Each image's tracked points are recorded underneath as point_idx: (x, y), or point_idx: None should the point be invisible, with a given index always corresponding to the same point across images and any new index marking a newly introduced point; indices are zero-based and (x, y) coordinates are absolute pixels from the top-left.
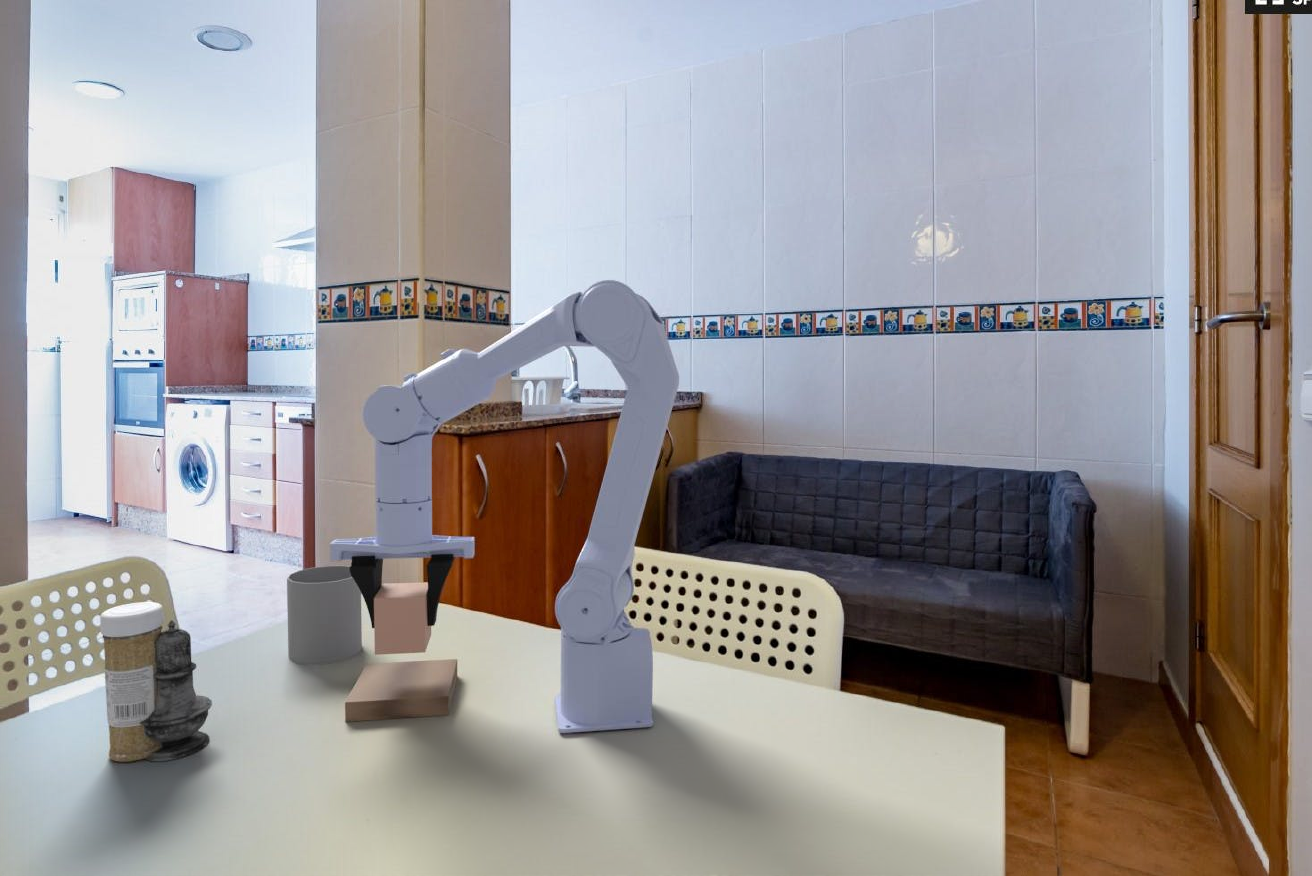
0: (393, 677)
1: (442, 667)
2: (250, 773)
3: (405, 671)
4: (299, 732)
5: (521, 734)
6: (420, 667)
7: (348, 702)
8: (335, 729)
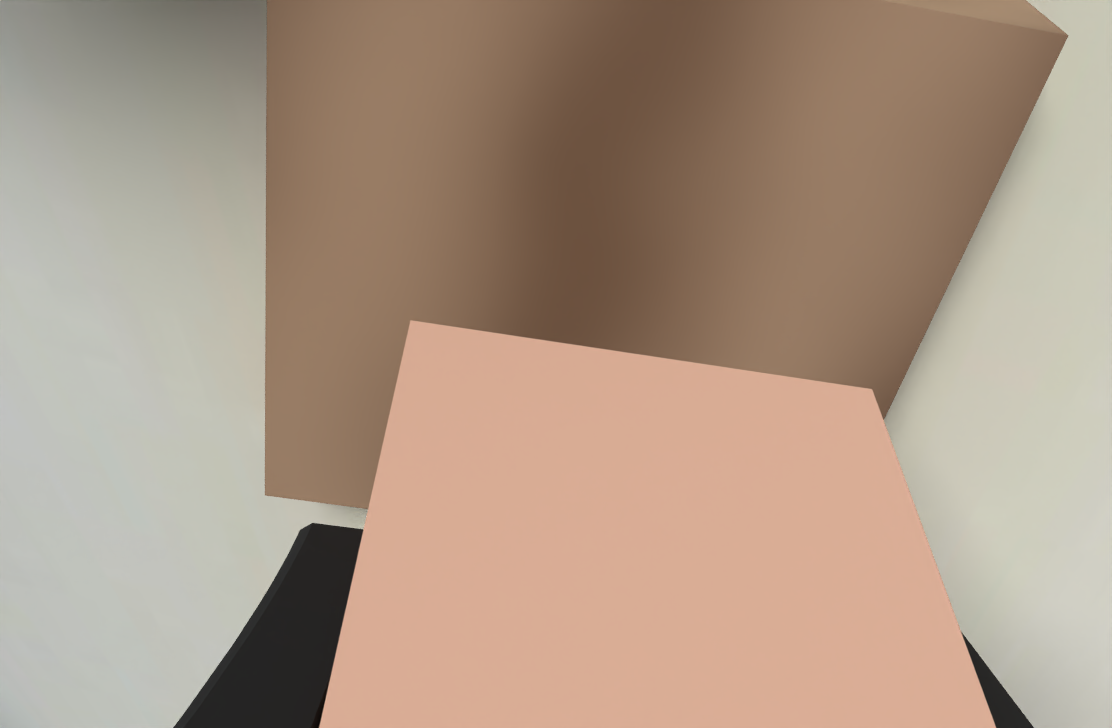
0: (519, 252)
1: (893, 183)
2: (39, 663)
3: (608, 175)
4: (93, 453)
5: (1027, 687)
6: (730, 129)
7: (283, 494)
8: (260, 471)
